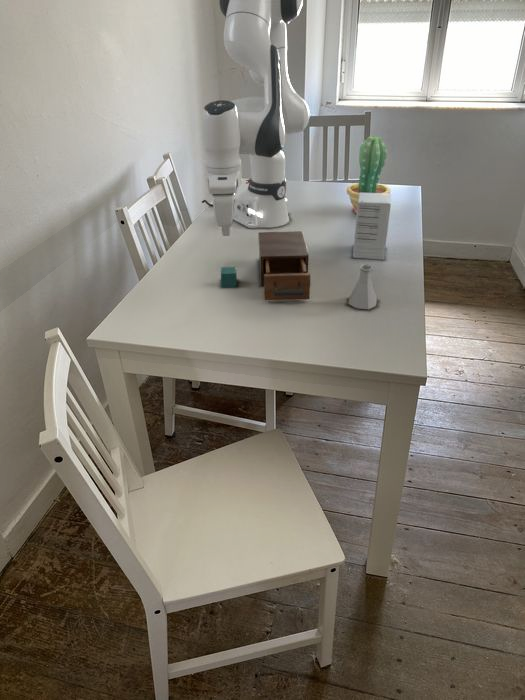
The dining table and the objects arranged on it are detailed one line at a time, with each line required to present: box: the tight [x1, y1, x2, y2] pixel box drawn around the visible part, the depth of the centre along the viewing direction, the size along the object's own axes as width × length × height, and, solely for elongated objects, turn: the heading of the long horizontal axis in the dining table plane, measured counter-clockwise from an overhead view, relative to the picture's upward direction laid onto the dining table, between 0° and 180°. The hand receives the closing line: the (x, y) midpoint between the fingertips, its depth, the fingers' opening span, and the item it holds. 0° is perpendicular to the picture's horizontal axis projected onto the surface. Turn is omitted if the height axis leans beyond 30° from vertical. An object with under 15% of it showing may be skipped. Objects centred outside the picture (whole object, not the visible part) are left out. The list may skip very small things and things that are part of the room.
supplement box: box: [352, 193, 392, 261], centre depth 154 cm, size 10×9×17 cm
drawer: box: [263, 258, 311, 301], centre depth 136 cm, size 21×11×7 cm, turn 2°
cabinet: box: [258, 230, 310, 287], centre depth 147 cm, size 17×13×9 cm
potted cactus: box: [346, 135, 391, 214], centre depth 182 cm, size 15×15×25 cm
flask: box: [347, 263, 378, 310], centre depth 131 cm, size 7×7×10 cm
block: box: [220, 266, 238, 288], centre depth 142 cm, size 4×4×4 cm
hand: (226, 230), depth 135 cm, fingers open, 4 cm apart
